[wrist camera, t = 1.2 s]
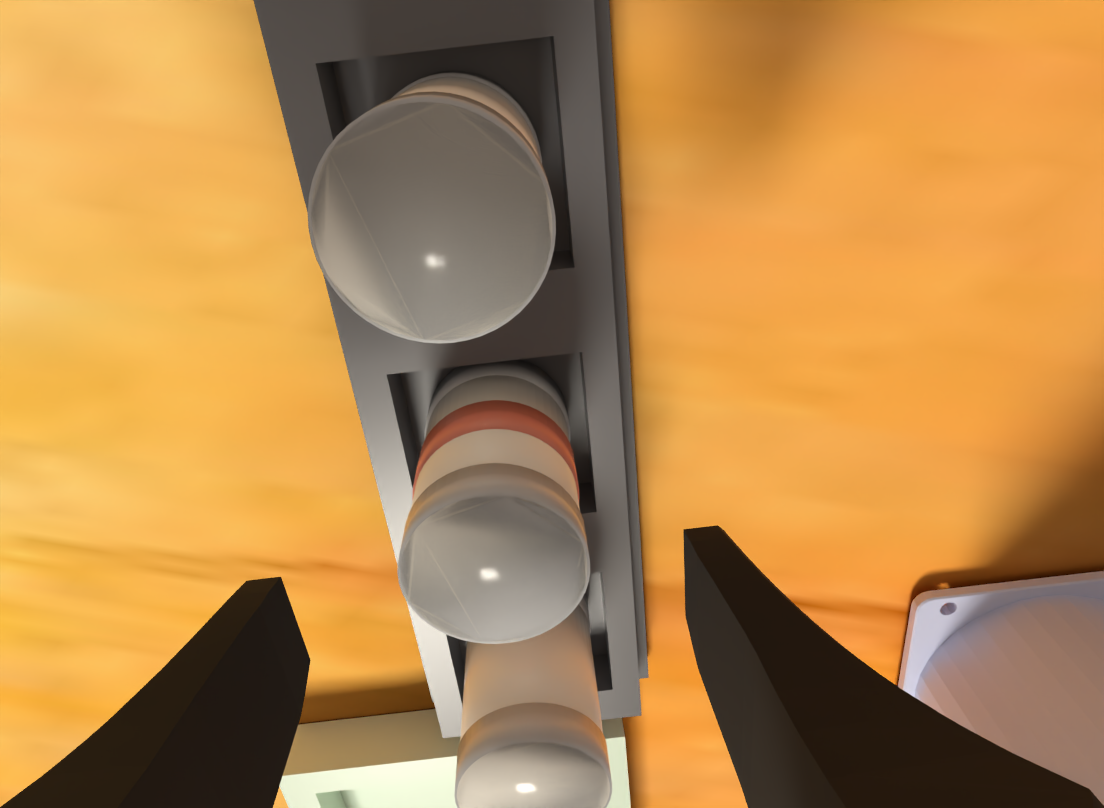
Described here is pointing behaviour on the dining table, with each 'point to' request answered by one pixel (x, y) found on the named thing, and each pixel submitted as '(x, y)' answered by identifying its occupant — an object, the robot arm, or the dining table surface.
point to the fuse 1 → (435, 210)
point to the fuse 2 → (533, 723)
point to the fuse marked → (495, 508)
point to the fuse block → (545, 322)
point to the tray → (397, 763)
